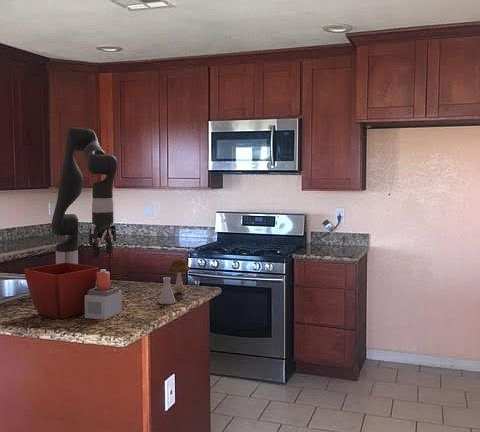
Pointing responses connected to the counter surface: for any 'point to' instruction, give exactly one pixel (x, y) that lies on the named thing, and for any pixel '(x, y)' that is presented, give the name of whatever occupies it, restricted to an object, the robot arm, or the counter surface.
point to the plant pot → (60, 288)
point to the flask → (166, 293)
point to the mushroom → (179, 273)
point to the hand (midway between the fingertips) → (103, 255)
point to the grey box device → (103, 303)
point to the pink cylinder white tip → (103, 280)
